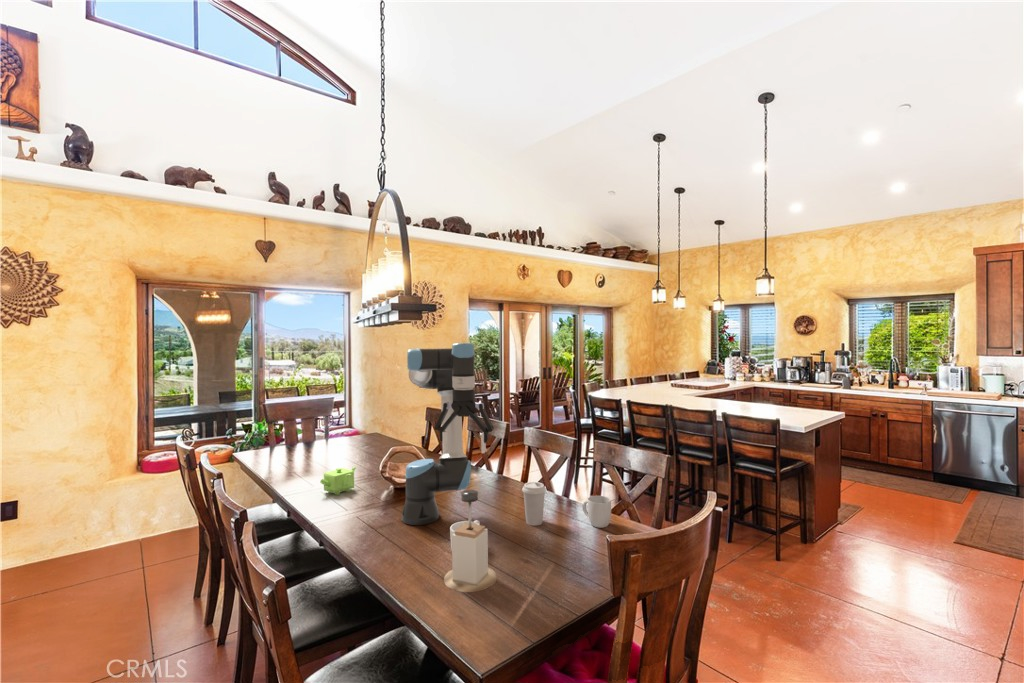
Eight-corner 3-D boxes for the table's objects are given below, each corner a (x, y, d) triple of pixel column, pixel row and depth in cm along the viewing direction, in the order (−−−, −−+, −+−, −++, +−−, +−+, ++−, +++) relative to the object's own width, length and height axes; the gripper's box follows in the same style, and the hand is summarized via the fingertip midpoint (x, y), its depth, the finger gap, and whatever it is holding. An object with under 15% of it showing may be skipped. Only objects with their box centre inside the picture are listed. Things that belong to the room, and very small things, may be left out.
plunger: (456, 545, 141) (456, 494, 141) (466, 537, 146) (465, 488, 146) (474, 548, 138) (473, 497, 138) (483, 540, 144) (482, 490, 144)
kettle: (357, 486, 235) (357, 463, 234) (353, 495, 221) (353, 471, 220) (326, 488, 232) (325, 465, 231) (320, 497, 218) (319, 473, 218)
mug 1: (468, 559, 156) (467, 535, 156) (443, 552, 161) (443, 528, 161) (491, 544, 167) (490, 521, 167) (467, 537, 173) (467, 516, 173)
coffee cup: (544, 528, 181) (544, 489, 181) (520, 526, 183) (520, 488, 183) (547, 518, 190) (547, 481, 190) (524, 517, 192) (524, 480, 192)
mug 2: (615, 525, 183) (615, 499, 183) (601, 531, 177) (601, 505, 177) (590, 515, 193) (590, 491, 193) (576, 521, 187) (575, 496, 187)
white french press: (452, 581, 140) (451, 531, 140) (465, 569, 148) (464, 521, 148) (476, 586, 137) (475, 535, 137) (488, 573, 145) (487, 525, 144)
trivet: (433, 588, 138) (433, 585, 138) (460, 563, 153) (460, 561, 153) (482, 599, 132) (482, 596, 132) (504, 572, 147) (504, 570, 147)
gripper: (424, 389, 156) (425, 452, 156) (496, 390, 151) (497, 455, 151) (432, 387, 164) (433, 447, 164) (502, 388, 158) (502, 450, 159)
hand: (464, 451), depth 157 cm, fingers open, 13 cm apart
